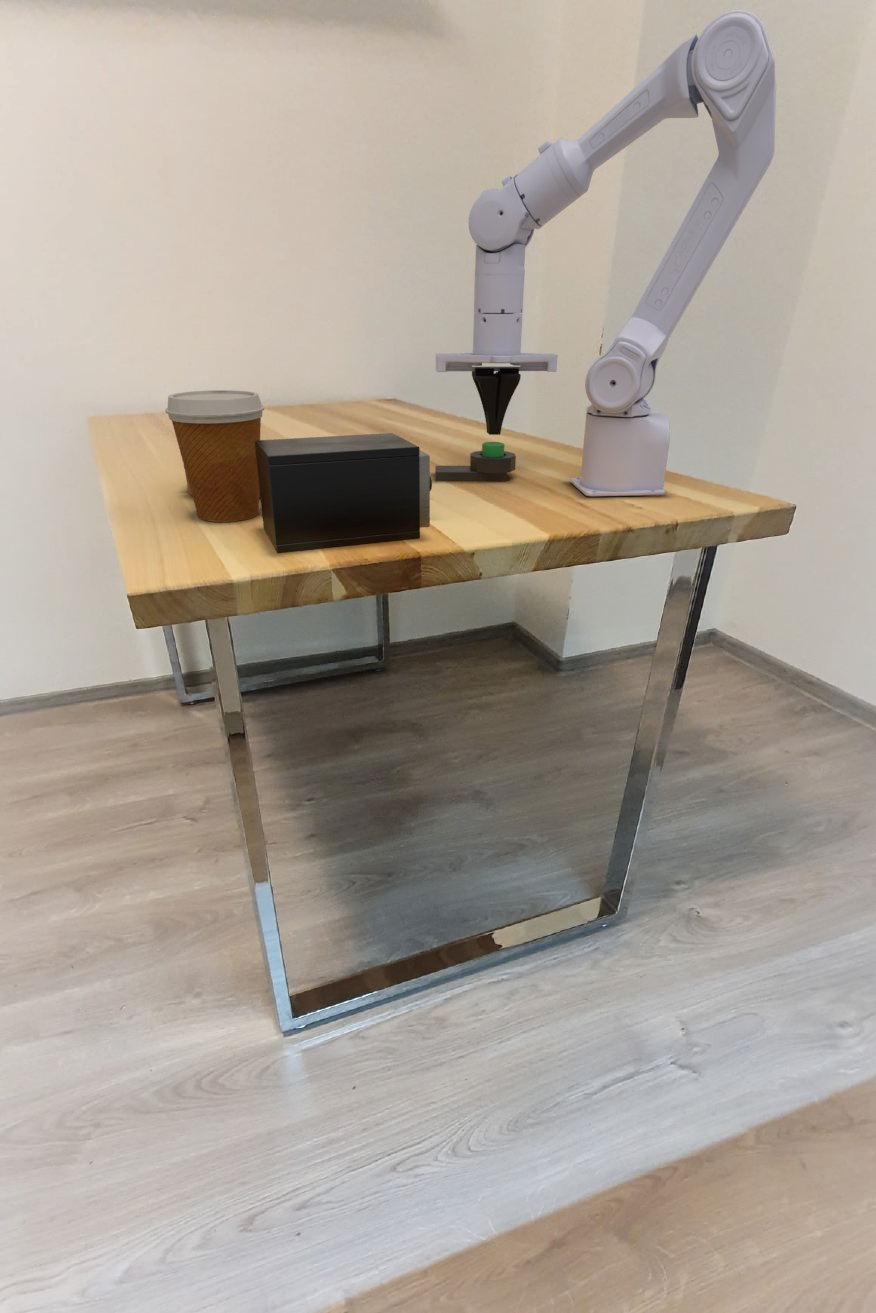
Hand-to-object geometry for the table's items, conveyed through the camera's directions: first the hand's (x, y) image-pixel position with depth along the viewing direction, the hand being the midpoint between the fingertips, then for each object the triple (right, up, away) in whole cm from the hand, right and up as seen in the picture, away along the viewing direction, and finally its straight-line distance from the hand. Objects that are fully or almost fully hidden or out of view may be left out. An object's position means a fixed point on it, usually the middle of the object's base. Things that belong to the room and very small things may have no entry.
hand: (493, 433), depth 91 cm
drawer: (-14, -15, -20) cm, 29 cm away
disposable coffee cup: (-29, -13, -14) cm, 35 cm away
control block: (-3, -5, +2) cm, 6 cm away
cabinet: (-16, -16, -20) cm, 31 cm away
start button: (0, -3, +1) cm, 3 cm away
